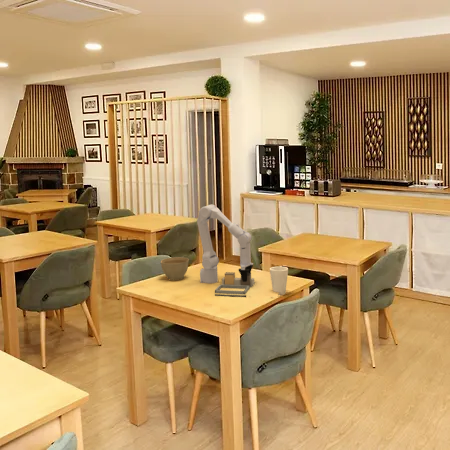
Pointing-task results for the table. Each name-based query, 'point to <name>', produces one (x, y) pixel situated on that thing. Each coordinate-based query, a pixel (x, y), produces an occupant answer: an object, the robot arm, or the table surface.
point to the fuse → (229, 278)
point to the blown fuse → (247, 280)
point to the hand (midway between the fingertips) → (246, 279)
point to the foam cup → (279, 279)
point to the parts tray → (232, 291)
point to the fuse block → (238, 282)
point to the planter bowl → (175, 267)
